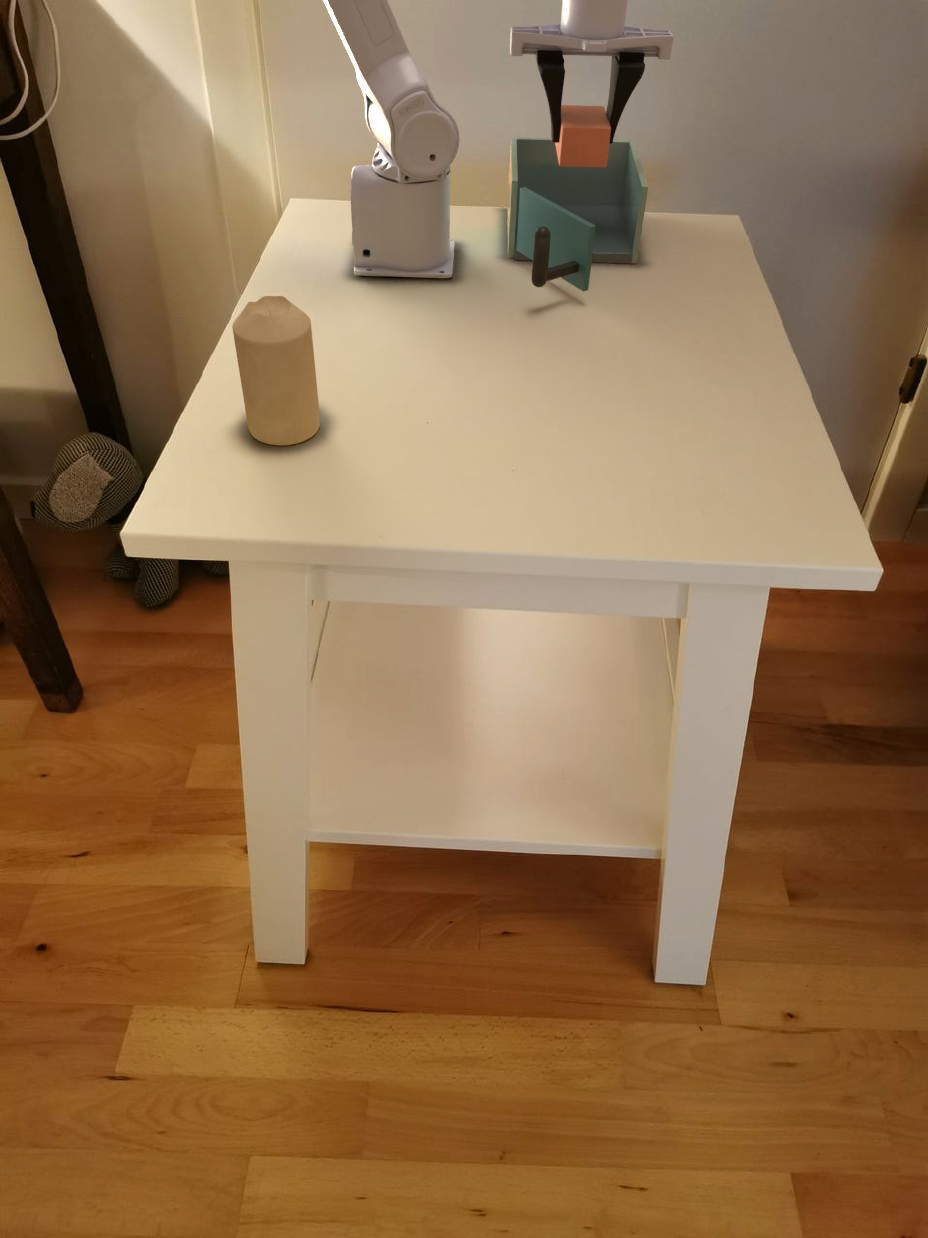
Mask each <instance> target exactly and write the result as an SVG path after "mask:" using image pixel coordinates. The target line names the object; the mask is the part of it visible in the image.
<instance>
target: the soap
mask: <svg viewBox="0 0 928 1238" xmlns="http://www.w3.org/2000/svg"><path fill="white" fill-rule="evenodd" d="M606 111H607V110H606V109H605V106H604V105H578V104H577V105H570V104H569V105H568V104H561V129H560V138H559V143H555V146H556V151H557V156H558V161H559V166H568V167H607V159H608V150H609V142H610V133H611V127H610V124H609V121H608V118H607V115H606Z"/></svg>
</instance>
